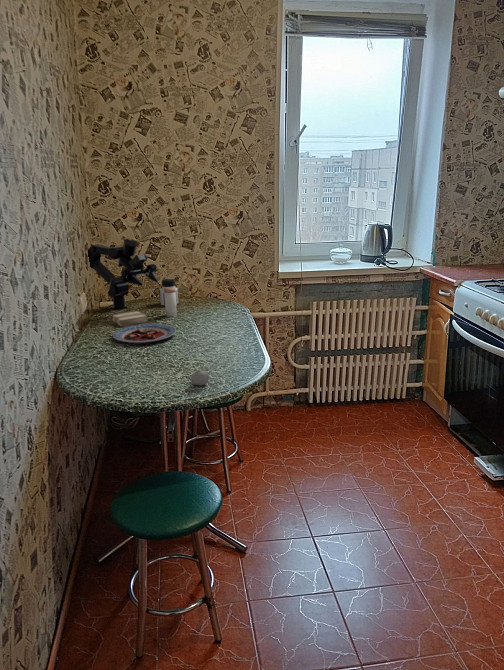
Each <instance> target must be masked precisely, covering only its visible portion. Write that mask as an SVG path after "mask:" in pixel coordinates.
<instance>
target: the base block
mask: <svg viewBox="0 0 504 670" xmlns="http://www.w3.org/2000/svg"><path fill="white" fill-rule="evenodd" d="M112 322H113V323H115V324H116V325H118V326H120V327H121V328H124V327H128V326H133V325H140V324H148V315H146V314H144V313H142V312H140V311H139V310H135V311H129V312H122V313H121V312H120V313H116V314H112Z"/></svg>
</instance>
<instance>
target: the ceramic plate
mask: <svg viewBox="0 0 504 670" xmlns="http://www.w3.org/2000/svg"><path fill="white" fill-rule="evenodd" d="M176 332H177V329H176V328H175V327H174V326H173V325H170V324H169V325H168V324H164V323H163V324H162V323H142V324H136V325H130V326H125V327H121V328H119V329H117V330H115V331H114V332H113V333H112V337H113V339H115V340H117V341H119V342H123V343H132V344H147V343H153V342H154V343H155V342H158V341H161V340H165V339H168V338H171V337H172V336H174V335H175V334H176Z"/></svg>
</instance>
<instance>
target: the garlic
mask: <svg viewBox="0 0 504 670" xmlns="http://www.w3.org/2000/svg"><path fill="white" fill-rule="evenodd" d="M209 380H210V375H209V373H208V372H207V371H205V370H200V369H197V370H195V371H193V372H192V374H191V376H190V382H191V384H192V385H194V386H204V385H206V384H207V383H208V382H209Z"/></svg>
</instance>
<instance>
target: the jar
mask: <svg viewBox="0 0 504 670" xmlns="http://www.w3.org/2000/svg"><path fill="white" fill-rule="evenodd" d="M175 288H176V287H175ZM175 288H174V287H168V288H164V297H165V306H164V308H165V309H164V310H165V317H168V318H170V317H171V318H172V317H177V316H178V312H177V309H178V308H177V305H176V293H175V292H176V290H175Z"/></svg>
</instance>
